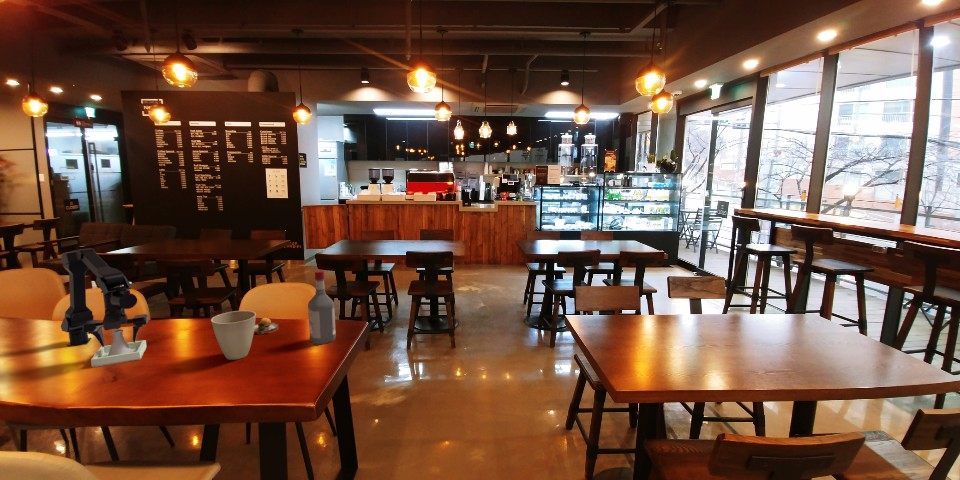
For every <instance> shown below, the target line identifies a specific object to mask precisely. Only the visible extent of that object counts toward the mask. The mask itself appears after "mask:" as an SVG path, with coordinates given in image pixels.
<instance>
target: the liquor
mask: <svg viewBox="0 0 960 480" xmlns="http://www.w3.org/2000/svg"><path fill="white" fill-rule="evenodd" d="M314 279H315V294H314V295H313V296H312V297H311V298H310V300H309V301H308V303H307V310H308V311H307V313H308V314H307V315H308V330H309V331H308V332H309V340H310V342H311V343H313V344H314V345H320V346H321V345H324V344H325V345H326V344H329V343H333V342H334V341H335V340H336V337H337V336H336V316H335V313H336V312H335V311H336V310H335V303H334V302H335V301H334V300H333V299H332V298H331V297H330V296H329V295H328V294H327V293H326V289H325V271H324V270H316V271H314Z"/></svg>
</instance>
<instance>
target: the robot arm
mask: <svg viewBox="0 0 960 480" xmlns="http://www.w3.org/2000/svg"><path fill="white" fill-rule="evenodd" d="M60 261H61V263H62V267H63V268H64V269H65V270H66V271H67V272H68V280H69V281H68V283H69V285H68V286H69V307H68V308H66V311H65V312H64V318H63V320H62V322H61V323H60V329H61V332H65V333H68V339H69V340H68V341H69V342H68V343H67V344H66V347H73V346H80V345H86V344H89V342H90V341H91V340H92V337H89V335H90V334H91V335H93V336H94V338H96V339H97V341H98V343H99V344H100V346H102V347H104V346H106V345H105V338H104V337H105V336H104V333H103V329H104V331H110V330H118V329H120V328H121V327H122V325H129V324H130V325H131V324H132V325H133V326H132V330H133V331H132V342H136V341H137V336H138V333H139V330H140V329H141V328H143V327H144V326H145V325H148V322H149V320H150V319H149V315H148V314H146V313H144V314H136V315H134V317H133V318H131V317H130V318H128V316H127V314H126V310H129V309H132V308H134V307H135V306H136V305H137V303H138V298H137V295H136V294H133V293H131V289H132V287H131V283H130V281H129V280H128V278H127V277H126V276H125V274H124V273H123V272H122V271H121V270H119V269H117V268H115V267H114V268H113V267H110V265H108V264H107V263H106V262H105V261H104V260H103V259H102V257H100V256H99V254H98V253H97V251H96V249H95V248H83V249H81V248H80V249H78V250H75V251H69V252H64V253H63V254H62V255H61V257H60ZM88 270H90V271H91V272H92V273H93V274H94V275H95V276H96V285H97V286H98V288H99V289H100V290H101V291H100V293H101V294H102V297H103V305H104V315H103V316H104V317H103V320H102V321H101V320H100V319H94V314H93V311H92V310H91V309H90V308H89V307H88V306H87V292H86V291H87V289H86V288H87V287H86V286H87V285H86V283H87V282H86V273H87V271H88Z"/></svg>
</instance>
